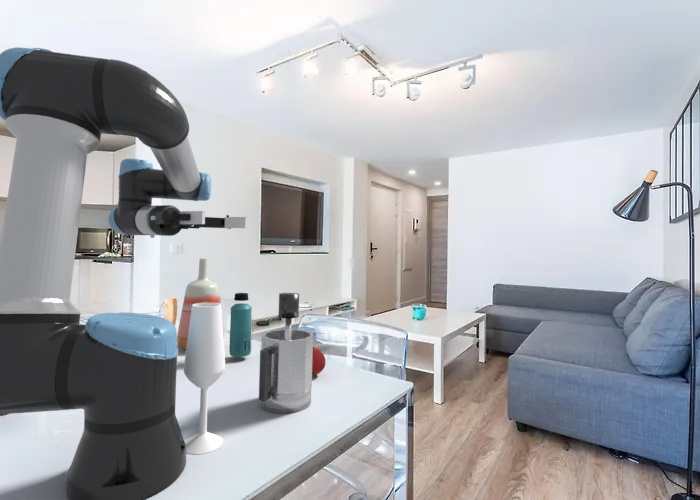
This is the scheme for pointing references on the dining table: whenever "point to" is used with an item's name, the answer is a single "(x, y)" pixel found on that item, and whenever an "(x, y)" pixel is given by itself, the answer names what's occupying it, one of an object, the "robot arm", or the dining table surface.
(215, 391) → the dining table surface
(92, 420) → the robot arm
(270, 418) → the dining table surface
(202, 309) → the champagne flute
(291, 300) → the plunger
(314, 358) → the onion
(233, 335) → the beverage bottle
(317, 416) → the dining table surface
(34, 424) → the dining table surface
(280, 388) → the press pot
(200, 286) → the vase
